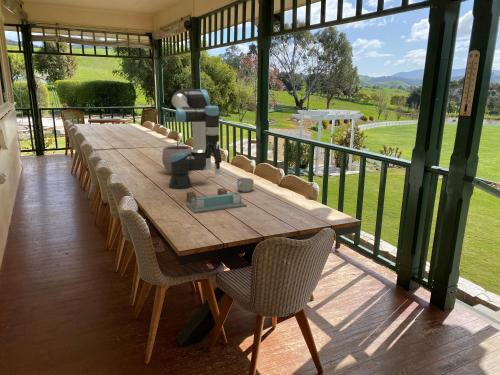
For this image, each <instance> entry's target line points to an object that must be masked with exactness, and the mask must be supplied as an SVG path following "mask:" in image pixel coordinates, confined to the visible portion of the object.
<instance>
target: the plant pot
mask: <svg viewBox="0 0 500 375" xmlns="http://www.w3.org/2000/svg"><path fill="white" fill-rule="evenodd" d="M176 137H177V138H176ZM176 137H175V136H174V139H175V142H176V144H177V145H167V146H164V147H163V149H162V150H163V151H162V155H161V156H162V159H161V160H162V165H163V166H164V168H165V170H166V171H168V172H169V173H170V174H171V162H170V161H171V155H172V154H174V153H177V152H188V154H191V150H192V149H193V148H192V146H191V145H190V146H189V145H182V144H181V143H182V141H183V139H182V140H180V139H181V137H178V135H176ZM180 144H181V145H180Z"/></svg>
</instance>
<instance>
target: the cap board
mask: <svg viewBox="0 0 500 375" xmlns="http://www.w3.org/2000/svg"><path fill="white" fill-rule="evenodd" d="M186 207H187V208H189V210H190V211H191V212H192V213H193V214H201V213H202V214H203V213H209V212H214V211H215V212H216V211H224V210H230V209H237V208H245V207H247V204H246V203H245V202H243V201H241V203H239V204H232V203H231V204H223V205H216V206H208V207H204V208H202V209H194V208H193V207H192V206H191V203H187V204H186Z"/></svg>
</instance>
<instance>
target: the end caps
mask: <svg viewBox="0 0 500 375" xmlns="http://www.w3.org/2000/svg"><path fill="white" fill-rule="evenodd" d="M232 193H235V194H237V195H232V204H239V203H241V202H242V194H241V193H239V192H237V191H235V192H227V194H232ZM199 197H201V196H196V197H191V203H190V204H191V206H192V207H193V208H194V209H202V208H204V199H199V200H196V199H195V198H199Z"/></svg>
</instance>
